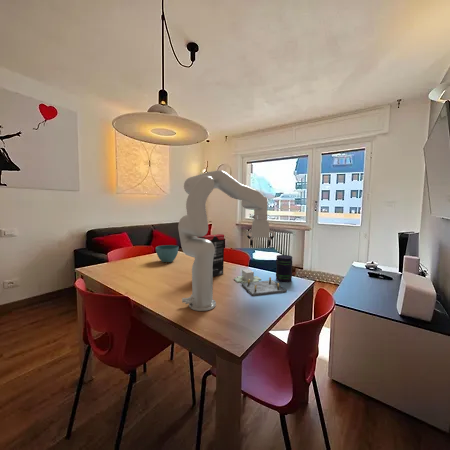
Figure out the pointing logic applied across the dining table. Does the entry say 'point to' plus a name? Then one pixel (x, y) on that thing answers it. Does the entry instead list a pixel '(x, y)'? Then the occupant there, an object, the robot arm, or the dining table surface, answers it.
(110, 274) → the dining table surface
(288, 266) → the storage jar
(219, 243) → the graphics card box
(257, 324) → the dining table surface
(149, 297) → the dining table surface
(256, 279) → the board
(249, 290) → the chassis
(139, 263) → the dining table surface
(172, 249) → the teal bowl
